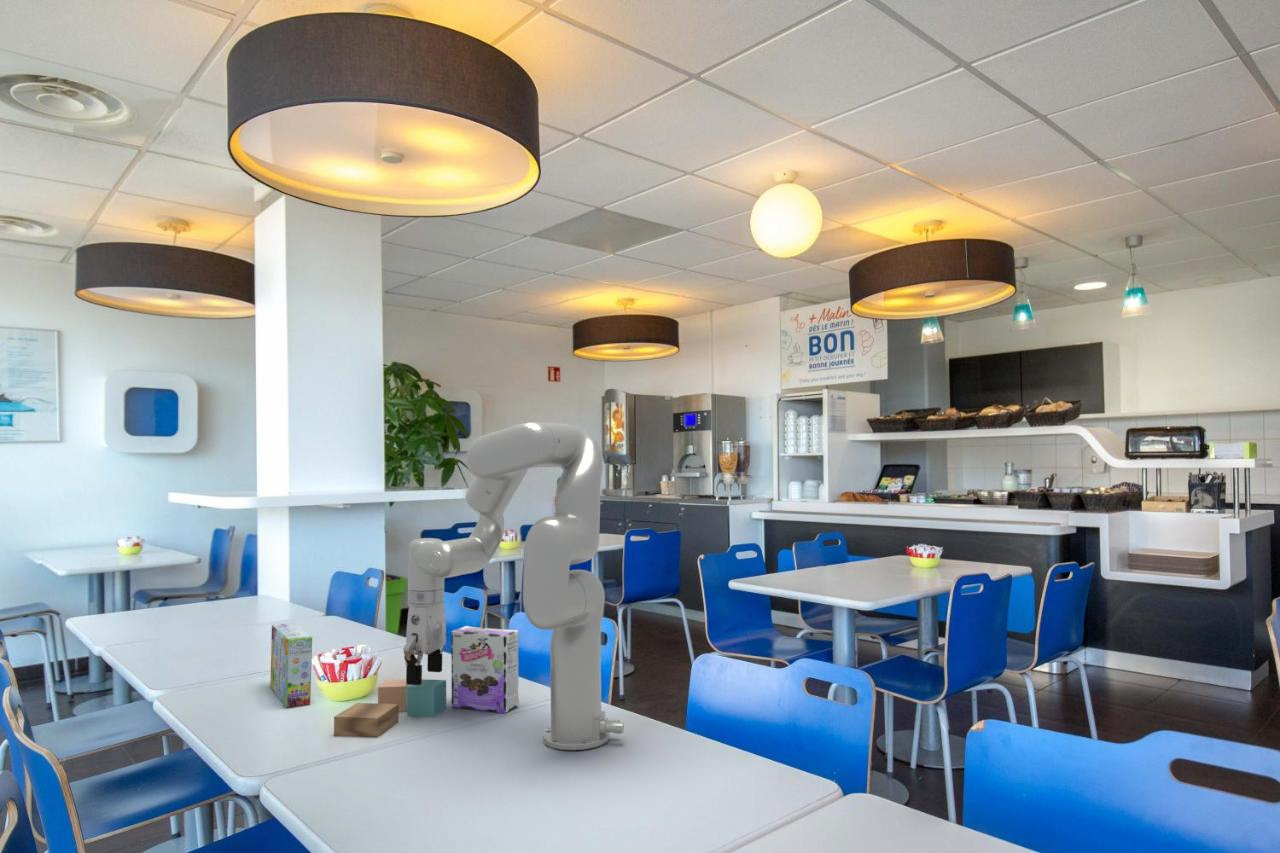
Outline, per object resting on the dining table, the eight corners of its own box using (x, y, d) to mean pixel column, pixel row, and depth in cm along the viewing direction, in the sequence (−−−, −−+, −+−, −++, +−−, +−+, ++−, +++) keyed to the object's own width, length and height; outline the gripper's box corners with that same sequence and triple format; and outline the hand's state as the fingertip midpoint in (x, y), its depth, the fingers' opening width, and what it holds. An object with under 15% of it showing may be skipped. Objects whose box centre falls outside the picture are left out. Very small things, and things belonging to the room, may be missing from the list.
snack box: (313, 704, 174) (313, 635, 175) (285, 709, 171) (286, 639, 172) (293, 683, 192) (294, 620, 193) (268, 687, 189) (269, 623, 189)
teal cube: (446, 708, 170) (446, 680, 171) (434, 717, 164) (433, 687, 165) (420, 707, 171) (420, 679, 172) (407, 716, 165) (407, 686, 166)
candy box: (450, 707, 171) (449, 630, 171) (465, 699, 176) (465, 625, 177) (505, 714, 165) (504, 634, 166) (519, 706, 171) (519, 629, 172)
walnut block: (398, 724, 161) (398, 704, 161) (377, 739, 152) (377, 718, 152) (356, 722, 162) (357, 702, 163) (333, 737, 154) (334, 716, 154)
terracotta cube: (410, 704, 173) (410, 679, 173) (404, 712, 168) (404, 686, 168) (384, 705, 173) (384, 680, 173) (378, 713, 167) (378, 687, 168)
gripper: (424, 605, 160) (422, 691, 159) (459, 590, 177) (457, 668, 176) (389, 603, 161) (388, 688, 161) (427, 589, 178) (426, 666, 178)
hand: (424, 677), depth 168 cm, fingers open, 9 cm apart
